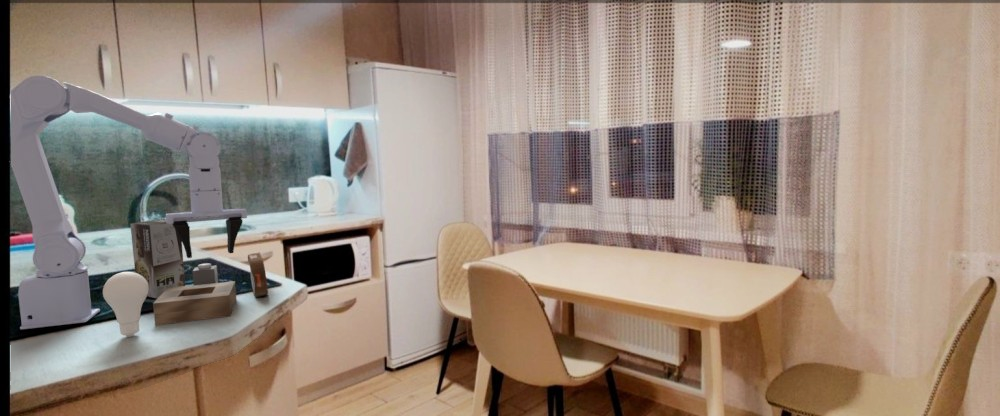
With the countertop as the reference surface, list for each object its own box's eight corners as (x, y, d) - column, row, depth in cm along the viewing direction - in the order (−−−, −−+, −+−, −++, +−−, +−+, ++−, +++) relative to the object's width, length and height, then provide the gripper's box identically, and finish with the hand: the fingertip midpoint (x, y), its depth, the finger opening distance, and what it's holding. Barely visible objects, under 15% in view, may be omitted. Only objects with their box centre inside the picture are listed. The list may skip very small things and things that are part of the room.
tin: (269, 299, 106) (266, 260, 105) (252, 301, 105) (250, 261, 104) (263, 284, 119) (261, 249, 118) (249, 286, 118) (246, 250, 117)
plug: (194, 301, 105) (192, 267, 105) (197, 296, 109) (195, 263, 108) (216, 299, 107) (214, 265, 106) (218, 294, 111) (216, 262, 110)
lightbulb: (111, 334, 86) (104, 270, 85) (154, 328, 89) (148, 266, 88) (104, 345, 80) (97, 278, 79) (150, 338, 83) (144, 273, 82)
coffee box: (187, 292, 113) (181, 220, 111) (155, 299, 107) (149, 224, 106) (167, 287, 118) (161, 218, 116) (135, 294, 112) (129, 222, 111)
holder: (154, 325, 90) (153, 303, 90) (169, 307, 101) (167, 287, 101) (230, 316, 95) (229, 295, 94) (236, 299, 106) (235, 281, 105)
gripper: (166, 193, 97) (171, 262, 99) (248, 189, 106) (252, 253, 108) (162, 191, 103) (168, 257, 104) (241, 188, 112) (244, 248, 113)
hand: (210, 254), depth 106 cm, fingers open, 7 cm apart
